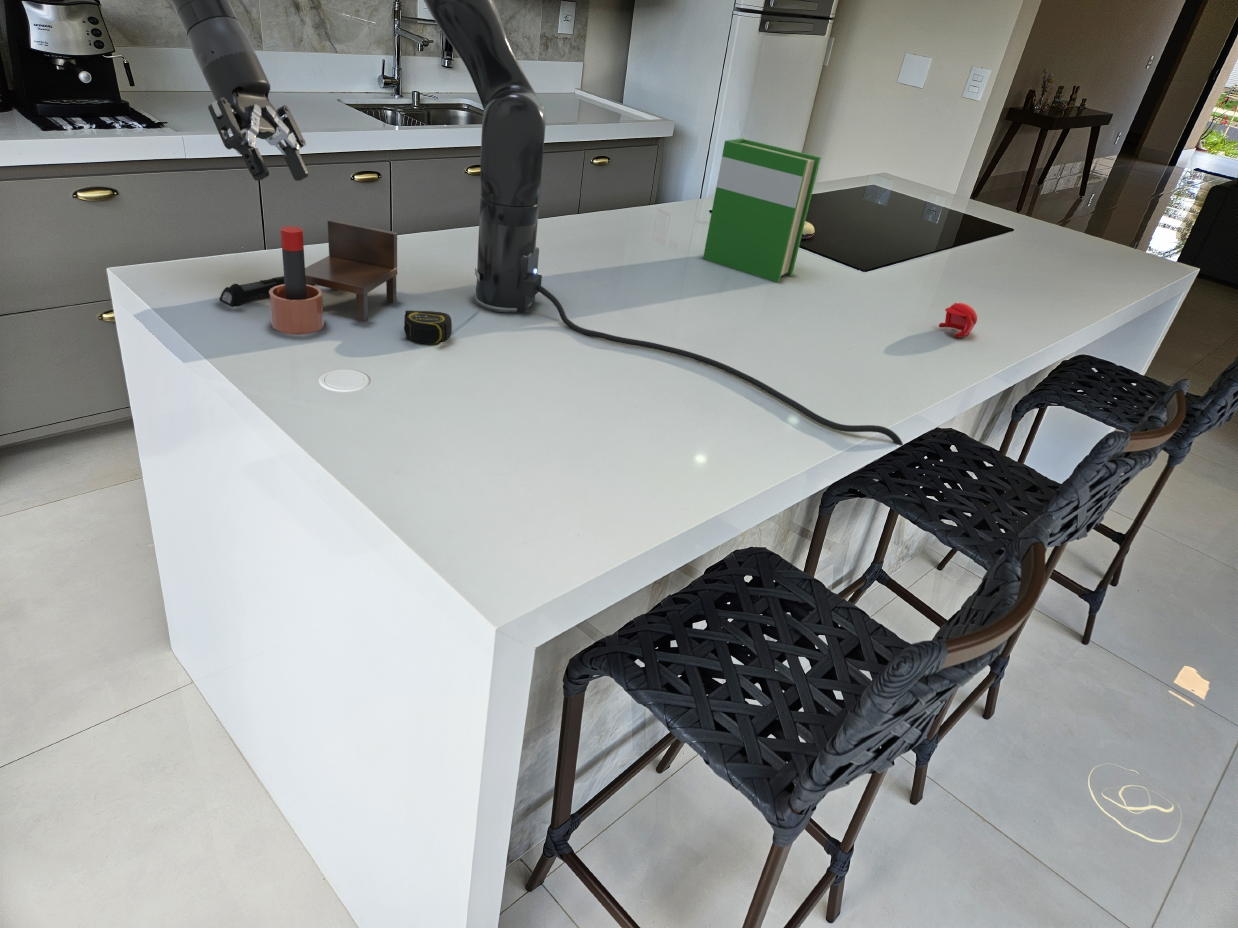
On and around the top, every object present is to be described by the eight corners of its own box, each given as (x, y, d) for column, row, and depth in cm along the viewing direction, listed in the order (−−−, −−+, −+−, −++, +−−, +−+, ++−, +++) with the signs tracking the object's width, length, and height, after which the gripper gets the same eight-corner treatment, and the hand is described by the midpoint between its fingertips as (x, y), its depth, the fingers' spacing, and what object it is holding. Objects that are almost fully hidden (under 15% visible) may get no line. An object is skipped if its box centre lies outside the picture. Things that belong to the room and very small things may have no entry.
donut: (772, 236, 212) (773, 239, 203) (773, 217, 210) (774, 220, 201) (812, 236, 210) (815, 240, 202) (813, 217, 209) (816, 220, 200)
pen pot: (333, 325, 124) (331, 289, 121) (307, 341, 118) (304, 304, 115) (289, 315, 125) (287, 280, 122) (261, 331, 119) (258, 294, 116)
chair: (397, 303, 134) (397, 232, 129) (364, 326, 125) (362, 250, 119) (334, 290, 136) (331, 219, 130) (296, 311, 126) (291, 236, 121)
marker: (312, 323, 122) (306, 229, 115) (301, 329, 120) (295, 233, 113) (294, 319, 122) (287, 225, 115) (283, 325, 120) (276, 230, 113)
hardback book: (792, 275, 177) (820, 157, 165) (777, 282, 171) (806, 160, 159) (719, 252, 184) (741, 138, 172) (702, 258, 179) (724, 141, 167)
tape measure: (450, 332, 127) (451, 309, 125) (451, 350, 122) (452, 326, 120) (404, 330, 126) (404, 306, 124) (402, 348, 120) (402, 323, 118)
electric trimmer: (323, 292, 135) (322, 273, 133) (232, 311, 123) (230, 290, 122) (308, 285, 137) (307, 266, 135) (218, 303, 125) (215, 282, 124)
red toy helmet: (946, 324, 162) (956, 294, 159) (976, 334, 159) (987, 304, 156) (929, 332, 157) (940, 301, 154) (960, 343, 154) (971, 312, 151)
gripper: (210, 42, 106) (269, 166, 109) (283, 57, 119) (333, 168, 122) (170, 70, 109) (228, 190, 112) (245, 81, 122) (295, 189, 125)
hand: (283, 178), depth 117 cm, fingers open, 8 cm apart
